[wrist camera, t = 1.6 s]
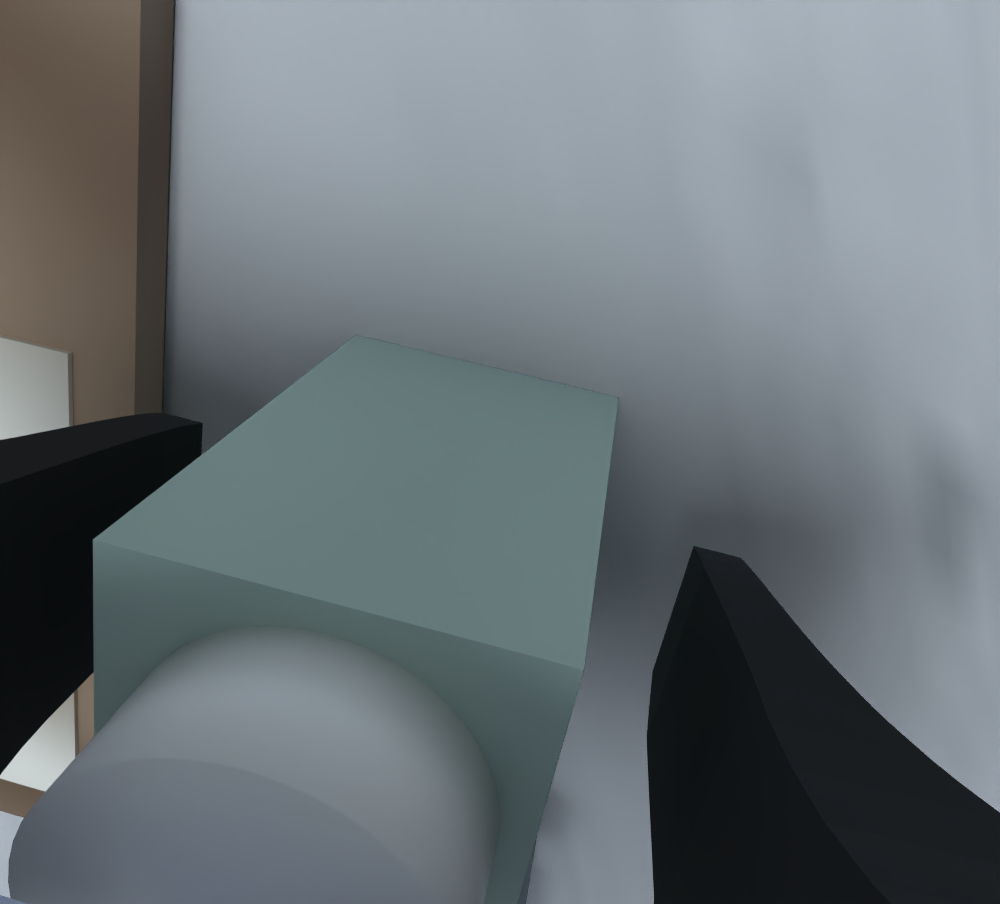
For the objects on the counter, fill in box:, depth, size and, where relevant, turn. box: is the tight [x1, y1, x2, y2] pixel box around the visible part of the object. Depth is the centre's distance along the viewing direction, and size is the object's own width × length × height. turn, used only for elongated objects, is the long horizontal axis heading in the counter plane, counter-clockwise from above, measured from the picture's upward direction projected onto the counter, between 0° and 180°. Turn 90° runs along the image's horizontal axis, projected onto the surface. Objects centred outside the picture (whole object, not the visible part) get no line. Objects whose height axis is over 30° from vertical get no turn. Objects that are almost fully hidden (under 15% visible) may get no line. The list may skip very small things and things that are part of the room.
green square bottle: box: [8, 335, 619, 904], centre depth 10 cm, size 4×4×8 cm
